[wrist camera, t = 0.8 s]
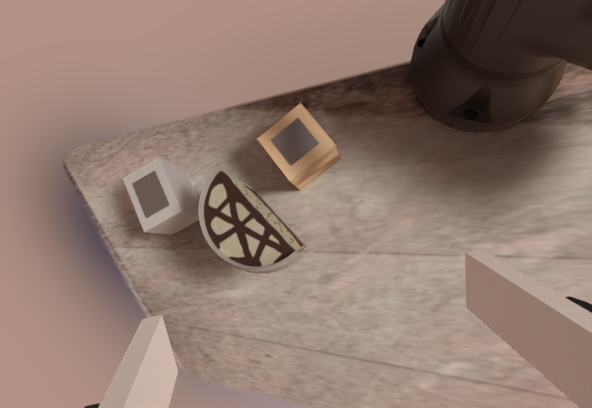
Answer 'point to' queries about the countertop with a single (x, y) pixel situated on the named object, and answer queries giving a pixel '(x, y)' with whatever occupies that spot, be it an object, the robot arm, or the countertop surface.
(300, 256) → the food container
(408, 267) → the countertop surface
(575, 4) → the robot arm
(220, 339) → the countertop surface
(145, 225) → the grey painted block
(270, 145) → the oak block
